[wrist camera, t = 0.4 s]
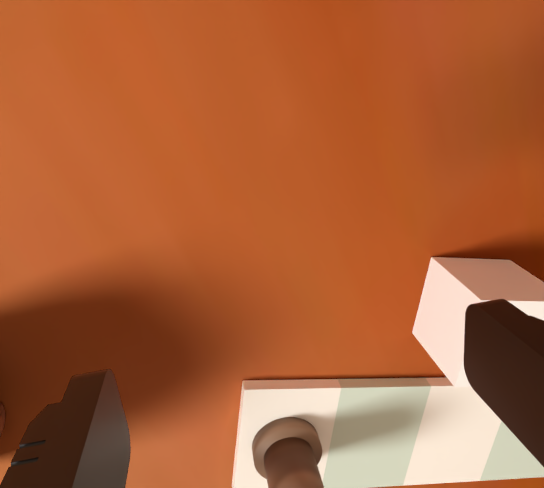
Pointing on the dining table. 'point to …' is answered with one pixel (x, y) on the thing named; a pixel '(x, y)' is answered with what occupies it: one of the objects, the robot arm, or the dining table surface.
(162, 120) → the dining table surface
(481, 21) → the dining table surface
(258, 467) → the pawn
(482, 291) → the die
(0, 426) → the wooden figurine
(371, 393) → the game board
